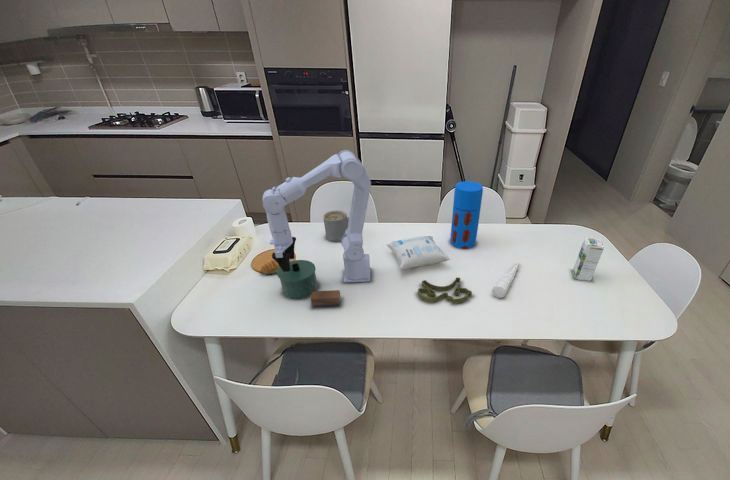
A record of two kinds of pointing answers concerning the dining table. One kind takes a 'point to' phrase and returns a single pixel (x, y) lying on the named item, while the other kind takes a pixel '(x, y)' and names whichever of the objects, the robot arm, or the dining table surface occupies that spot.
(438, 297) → the cookie cutter
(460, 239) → the thermos
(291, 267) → the pot lid
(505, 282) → the unicorn horn
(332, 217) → the coffee mug
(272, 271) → the pastry
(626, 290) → the dining table surface
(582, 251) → the syrup box
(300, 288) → the pot
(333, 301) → the brown rectangular block
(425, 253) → the pouch
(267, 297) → the dining table surface
